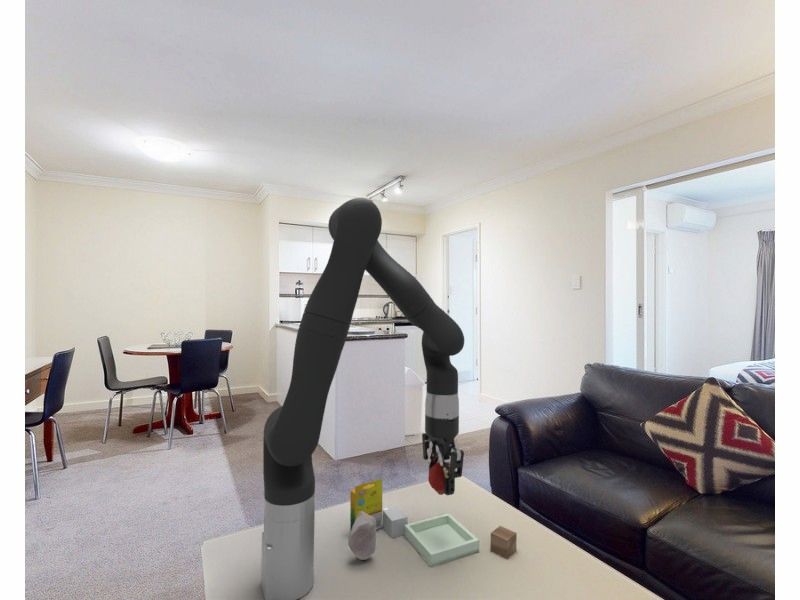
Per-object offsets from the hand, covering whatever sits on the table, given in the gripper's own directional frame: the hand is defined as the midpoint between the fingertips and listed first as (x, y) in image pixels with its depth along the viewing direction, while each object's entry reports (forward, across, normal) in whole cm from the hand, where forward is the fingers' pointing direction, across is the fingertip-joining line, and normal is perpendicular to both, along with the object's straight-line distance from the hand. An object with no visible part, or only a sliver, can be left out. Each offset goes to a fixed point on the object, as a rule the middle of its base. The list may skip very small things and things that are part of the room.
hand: (441, 487), depth 89 cm
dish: (+12, 0, 0) cm, 12 cm away
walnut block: (+13, +8, +11) cm, 19 cm away
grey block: (+13, -9, -7) cm, 17 cm away
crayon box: (+13, -12, -13) cm, 22 cm away
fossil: (+13, -2, -18) cm, 22 cm away
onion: (+2, 0, 0) cm, 2 cm away
